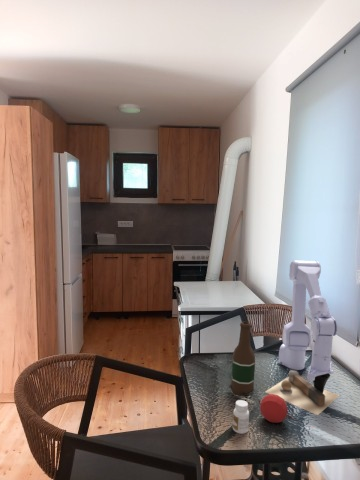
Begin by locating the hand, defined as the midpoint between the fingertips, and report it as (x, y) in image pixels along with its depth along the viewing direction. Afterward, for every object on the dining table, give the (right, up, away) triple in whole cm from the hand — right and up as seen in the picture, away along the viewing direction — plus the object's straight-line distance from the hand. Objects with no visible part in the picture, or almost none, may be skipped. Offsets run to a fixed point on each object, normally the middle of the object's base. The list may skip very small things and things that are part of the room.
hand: (318, 393), depth 116 cm
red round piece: (-18, -3, -11) cm, 21 cm away
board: (-5, -2, +2) cm, 6 cm away
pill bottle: (-28, -3, -16) cm, 33 cm away
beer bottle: (-24, -2, +5) cm, 25 cm away
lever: (-3, -1, +3) cm, 5 cm away
